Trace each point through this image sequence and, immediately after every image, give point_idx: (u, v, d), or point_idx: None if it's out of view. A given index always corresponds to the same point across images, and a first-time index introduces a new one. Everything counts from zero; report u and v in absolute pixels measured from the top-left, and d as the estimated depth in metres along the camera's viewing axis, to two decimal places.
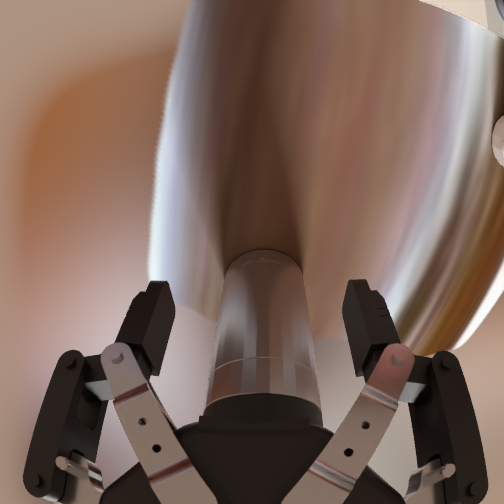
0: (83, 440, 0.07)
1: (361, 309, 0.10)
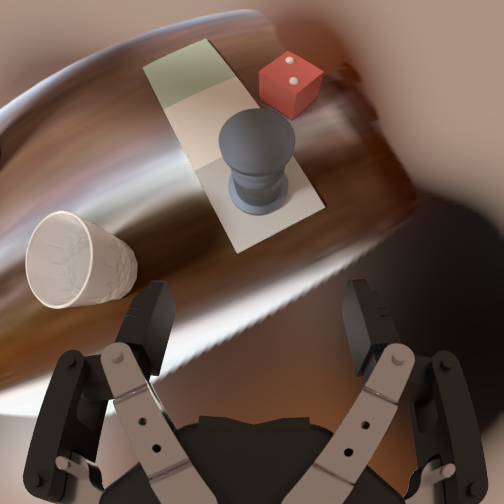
0: (83, 440, 0.07)
1: (361, 309, 0.10)
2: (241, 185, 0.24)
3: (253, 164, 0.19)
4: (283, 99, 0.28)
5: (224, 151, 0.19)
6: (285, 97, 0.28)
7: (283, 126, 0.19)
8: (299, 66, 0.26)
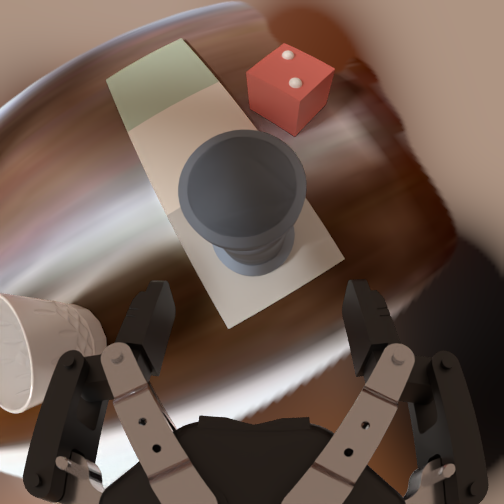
0: (83, 440, 0.07)
1: (361, 309, 0.10)
2: (225, 248, 0.16)
3: (236, 233, 0.11)
4: (282, 108, 0.21)
5: (188, 210, 0.12)
6: (284, 106, 0.20)
7: (285, 159, 0.12)
8: (301, 62, 0.19)
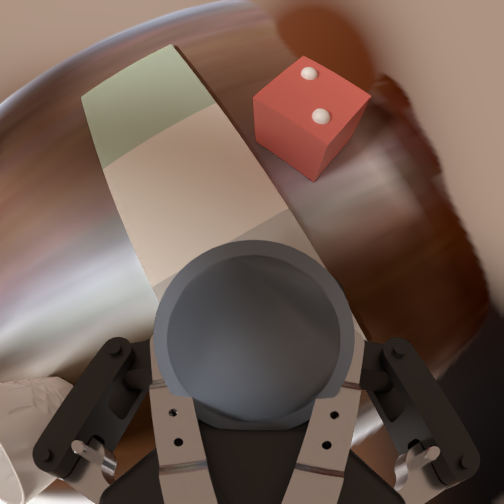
0: (108, 428, 0.07)
1: None
2: None
3: (246, 417, 0.07)
4: (301, 149, 0.16)
5: (172, 379, 0.07)
6: (304, 147, 0.16)
7: (325, 301, 0.07)
8: (327, 85, 0.15)
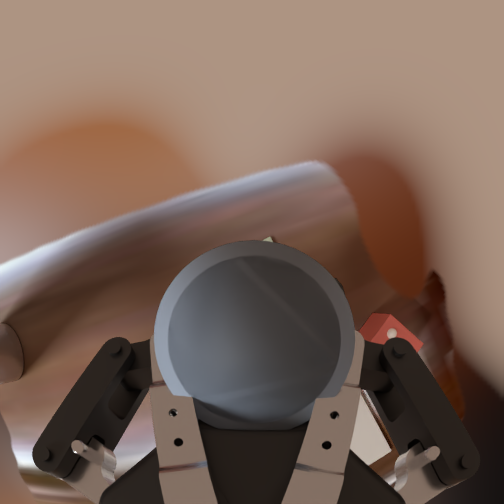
0: (108, 427, 0.07)
1: None
2: None
3: (247, 418, 0.07)
4: None
5: (173, 379, 0.07)
6: None
7: (325, 301, 0.07)
8: None
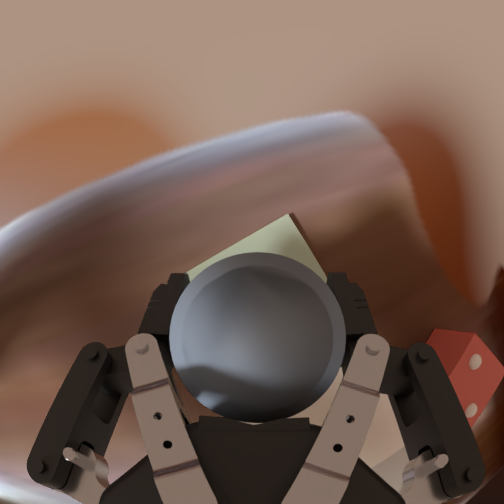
0: (95, 433, 0.07)
1: (338, 300, 0.11)
2: None
3: (251, 407, 0.08)
4: None
5: (186, 374, 0.08)
6: None
7: (320, 305, 0.08)
8: (483, 372, 0.12)
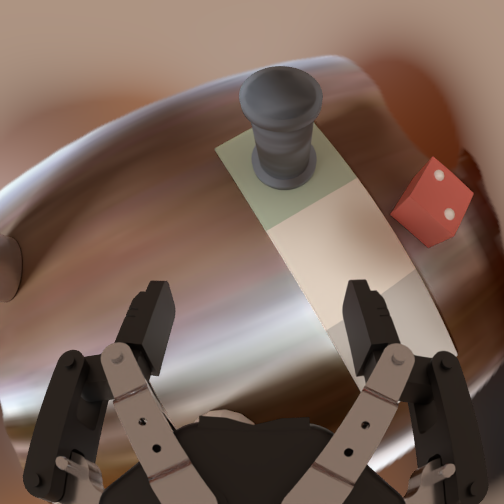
0: (83, 440, 0.07)
1: (361, 309, 0.10)
2: (267, 151, 0.21)
3: (279, 117, 0.16)
4: (430, 231, 0.21)
5: (247, 107, 0.17)
6: (434, 231, 0.21)
7: (307, 81, 0.17)
8: (450, 186, 0.20)
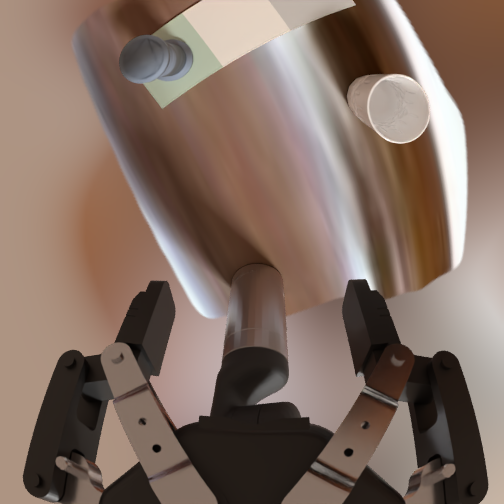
0: (83, 440, 0.07)
1: (361, 309, 0.10)
2: (174, 66, 0.27)
3: (162, 56, 0.22)
4: None
5: (154, 76, 0.24)
6: None
7: (132, 44, 0.21)
8: None
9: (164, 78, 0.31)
